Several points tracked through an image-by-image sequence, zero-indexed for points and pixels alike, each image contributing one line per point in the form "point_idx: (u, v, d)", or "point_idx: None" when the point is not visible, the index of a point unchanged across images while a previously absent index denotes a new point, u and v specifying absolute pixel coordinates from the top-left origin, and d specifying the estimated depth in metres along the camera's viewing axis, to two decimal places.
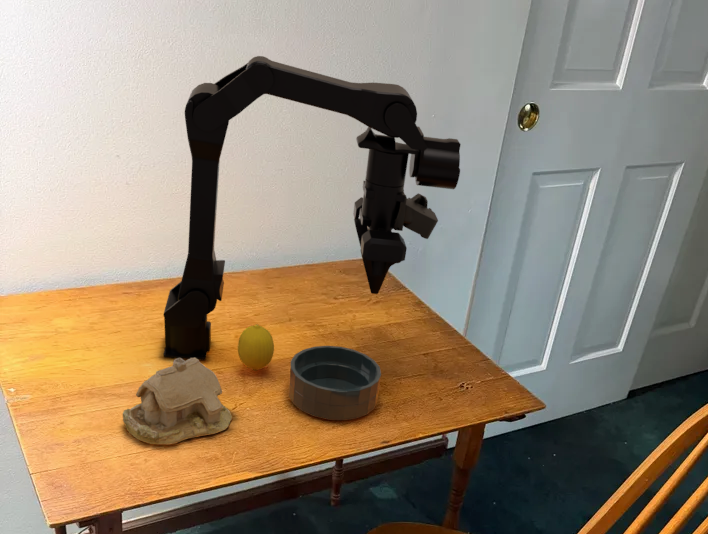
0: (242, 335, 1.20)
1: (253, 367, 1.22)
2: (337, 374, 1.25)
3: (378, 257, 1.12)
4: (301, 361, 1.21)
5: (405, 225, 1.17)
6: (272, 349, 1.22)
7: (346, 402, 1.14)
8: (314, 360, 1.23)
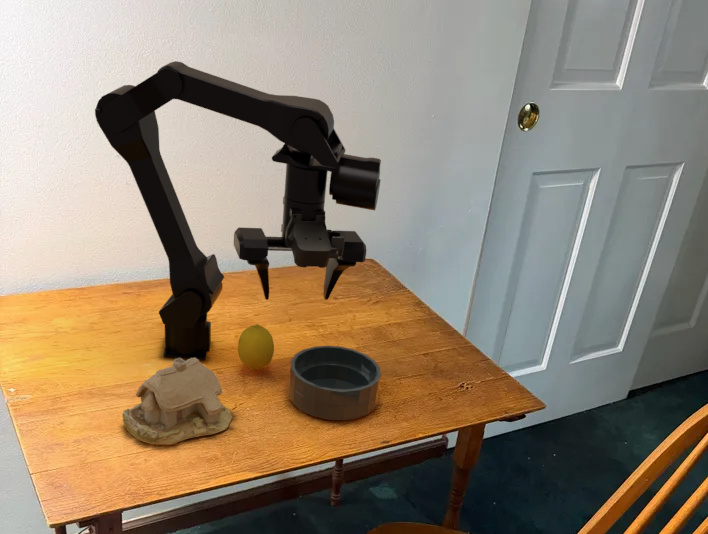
0: (242, 335, 1.20)
1: (253, 367, 1.22)
2: (337, 374, 1.25)
3: (235, 247, 1.13)
4: (301, 361, 1.21)
5: (291, 243, 1.11)
6: (272, 349, 1.22)
7: (346, 402, 1.14)
8: (314, 360, 1.23)
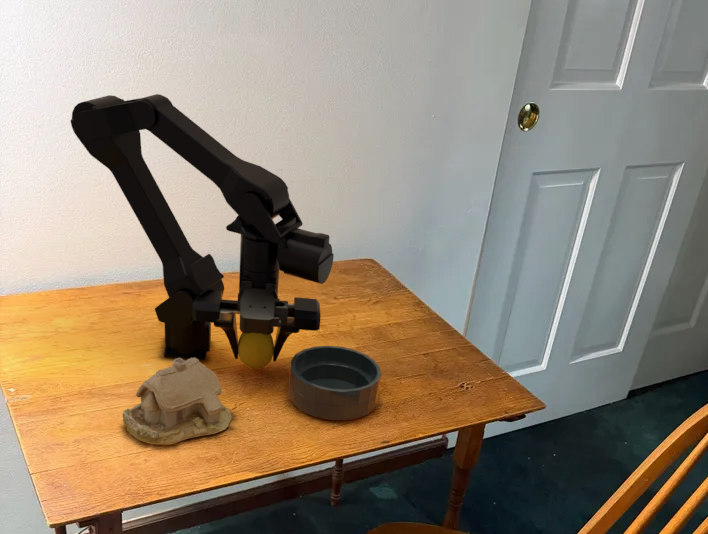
0: (242, 335, 1.20)
1: (253, 367, 1.22)
2: (337, 374, 1.25)
3: None
4: (301, 361, 1.21)
5: None
6: (272, 349, 1.22)
7: (346, 402, 1.14)
8: (314, 360, 1.23)
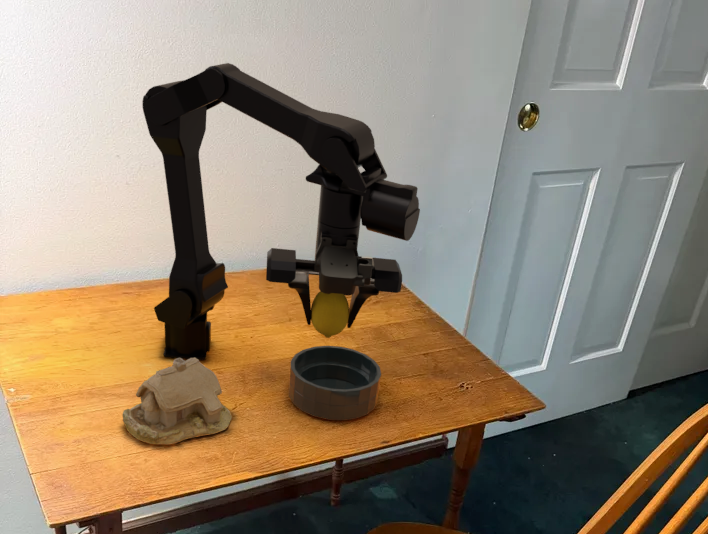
0: (316, 298, 1.12)
1: (327, 333, 1.14)
2: (337, 374, 1.25)
3: None
4: (301, 361, 1.21)
5: (319, 268, 1.06)
6: (348, 314, 1.13)
7: (346, 402, 1.14)
8: (314, 360, 1.23)
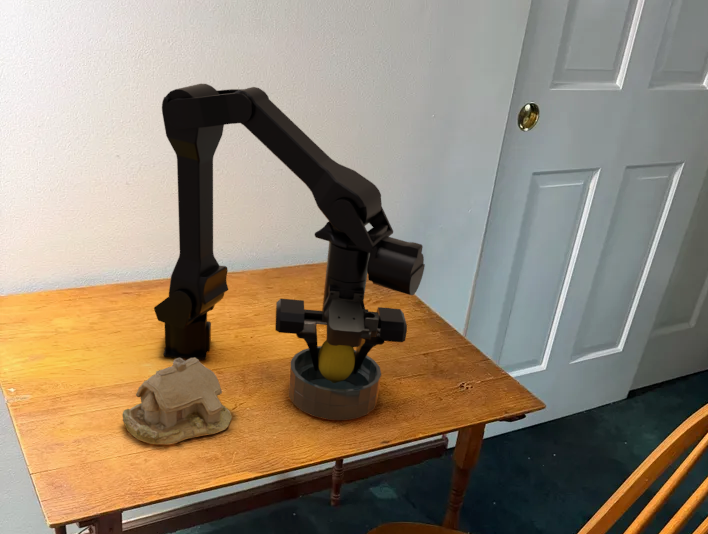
0: (324, 346, 1.15)
1: (334, 379, 1.17)
2: None
3: None
4: (301, 361, 1.21)
5: (327, 319, 1.10)
6: (354, 361, 1.17)
7: (346, 402, 1.14)
8: None
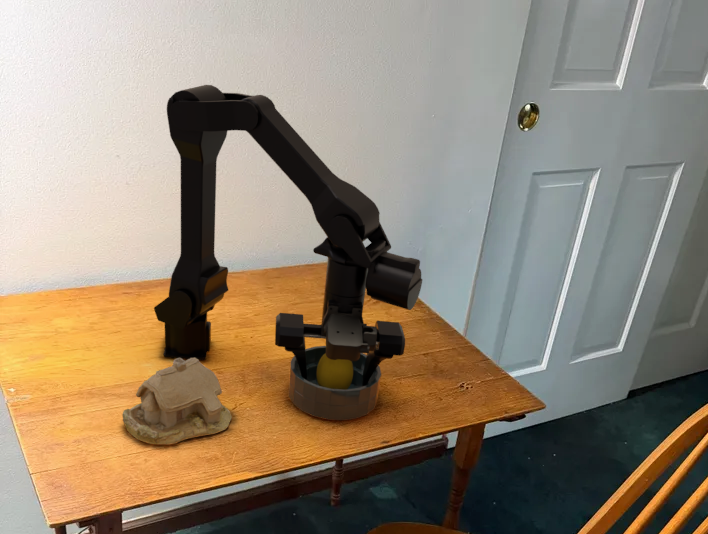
0: (322, 360, 1.17)
1: None
2: None
3: None
4: None
5: (326, 334, 1.11)
6: (352, 374, 1.18)
7: (346, 402, 1.14)
8: (314, 360, 1.23)
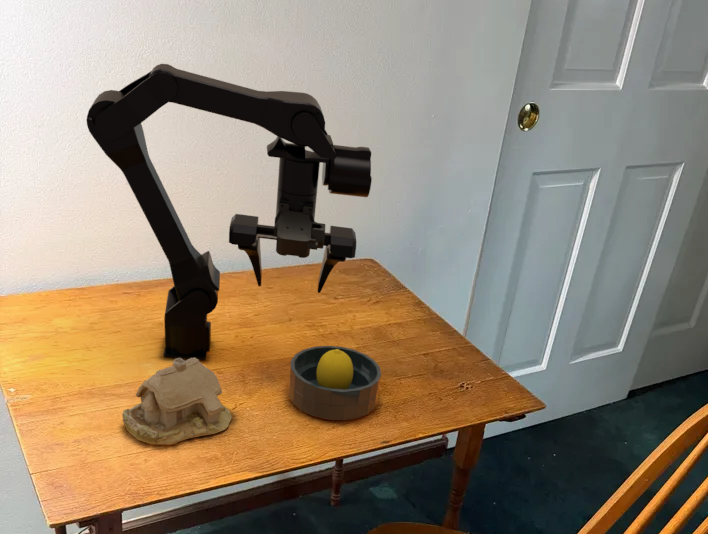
0: (322, 360, 1.17)
1: None
2: None
3: None
4: (301, 361, 1.21)
5: None
6: (352, 374, 1.18)
7: (346, 402, 1.14)
8: (314, 360, 1.23)
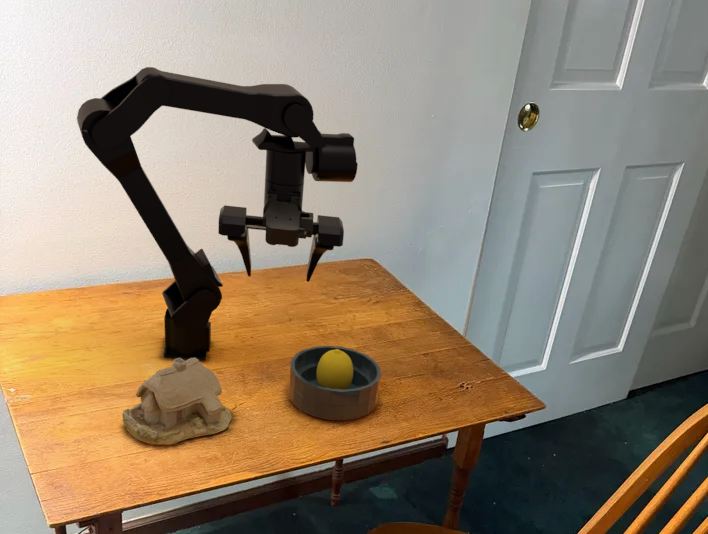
0: (322, 360, 1.17)
1: None
2: None
3: None
4: (301, 361, 1.21)
5: None
6: (352, 374, 1.18)
7: (346, 402, 1.14)
8: (314, 360, 1.23)
